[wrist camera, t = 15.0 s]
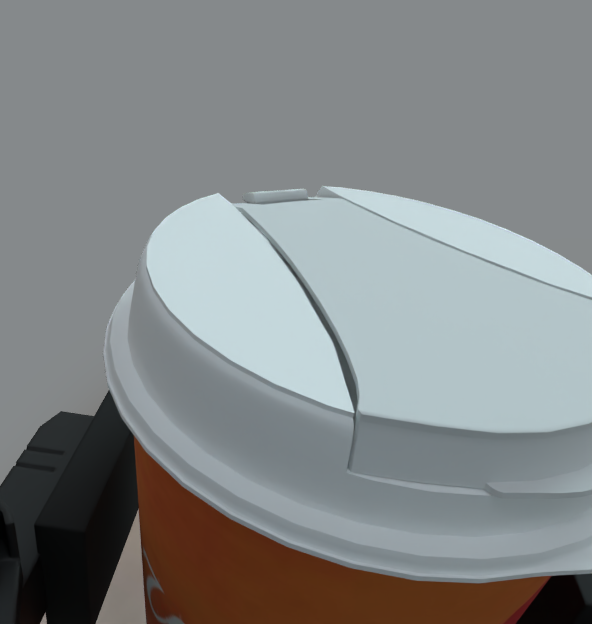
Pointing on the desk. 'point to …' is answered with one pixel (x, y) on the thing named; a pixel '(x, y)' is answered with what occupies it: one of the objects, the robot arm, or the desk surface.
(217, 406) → the paper cup
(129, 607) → the desk surface
